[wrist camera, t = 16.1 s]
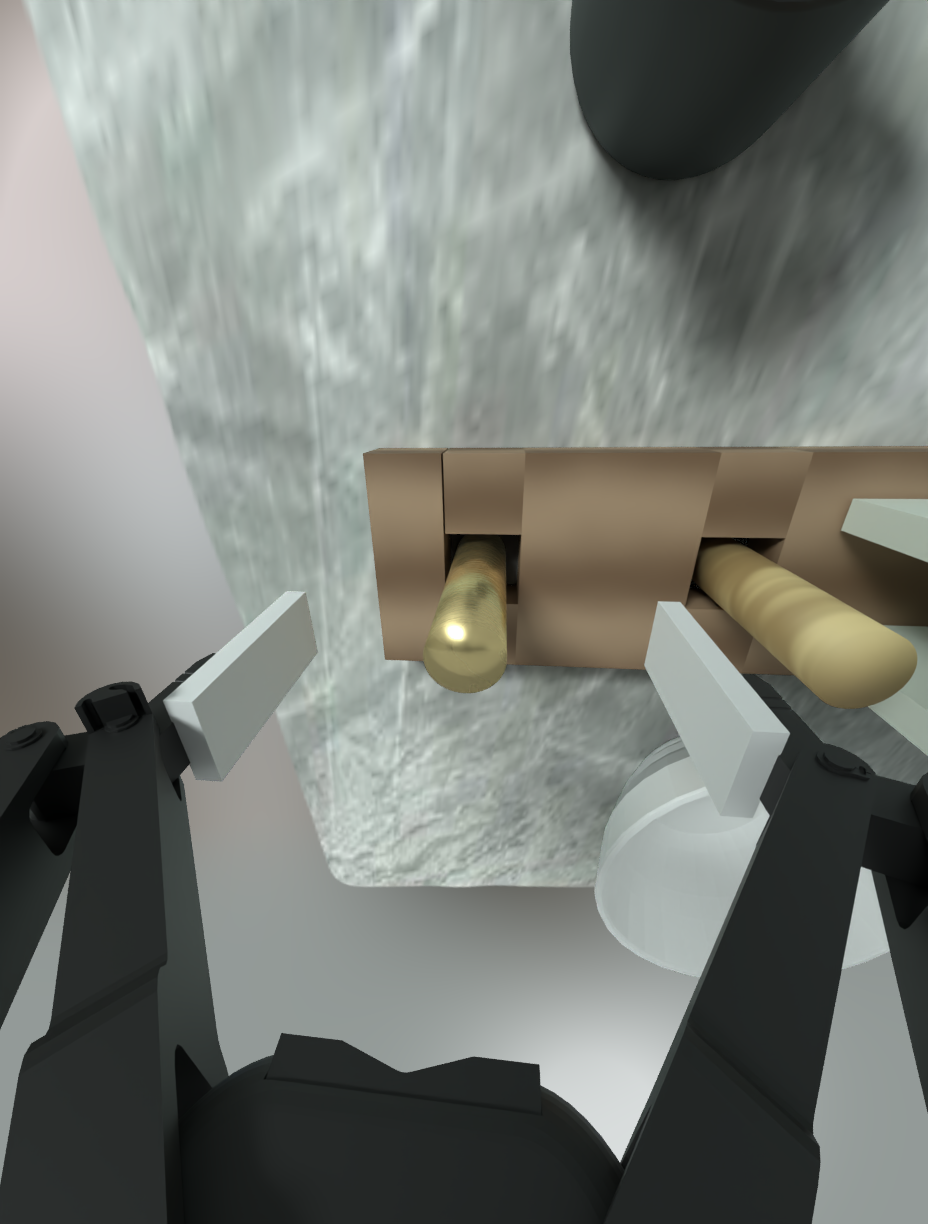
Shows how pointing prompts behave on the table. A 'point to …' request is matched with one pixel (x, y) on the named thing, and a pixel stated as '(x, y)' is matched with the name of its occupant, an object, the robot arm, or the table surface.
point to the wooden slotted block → (663, 554)
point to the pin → (471, 618)
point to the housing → (924, 702)
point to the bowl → (690, 869)
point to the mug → (699, 72)
